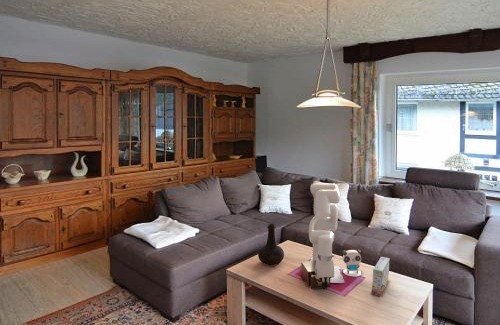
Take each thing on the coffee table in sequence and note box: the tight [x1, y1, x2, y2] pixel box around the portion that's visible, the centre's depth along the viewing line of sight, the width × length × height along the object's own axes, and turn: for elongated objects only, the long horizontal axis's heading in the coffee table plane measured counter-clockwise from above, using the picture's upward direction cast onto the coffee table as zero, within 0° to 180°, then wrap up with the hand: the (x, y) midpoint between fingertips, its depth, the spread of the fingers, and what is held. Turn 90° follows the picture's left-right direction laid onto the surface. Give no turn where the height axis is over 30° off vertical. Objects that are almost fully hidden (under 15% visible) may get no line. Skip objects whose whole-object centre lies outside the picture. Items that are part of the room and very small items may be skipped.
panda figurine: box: [341, 249, 363, 278], centre depth 225 cm, size 12×11×15 cm
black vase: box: [257, 223, 285, 267], centre depth 241 cm, size 18×18×28 cm
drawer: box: [310, 273, 331, 290], centre depth 209 cm, size 18×11×8 cm, turn 8°
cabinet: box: [300, 260, 316, 288], centre depth 216 cm, size 15×13×10 cm
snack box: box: [371, 256, 391, 297], centre depth 205 cm, size 21×6×15 cm, turn 148°
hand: (324, 287), depth 198 cm, fingers closed
